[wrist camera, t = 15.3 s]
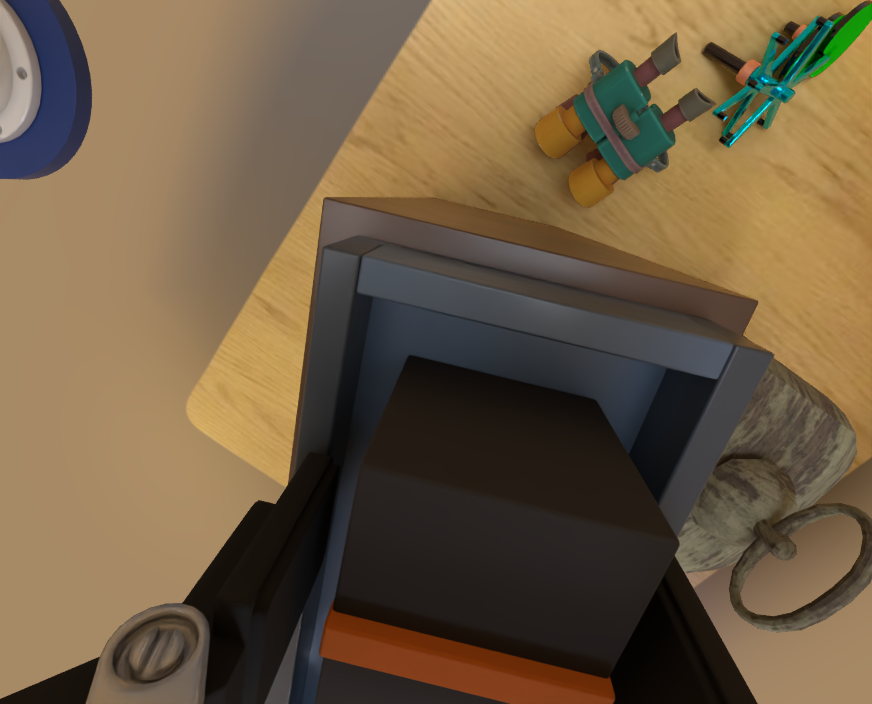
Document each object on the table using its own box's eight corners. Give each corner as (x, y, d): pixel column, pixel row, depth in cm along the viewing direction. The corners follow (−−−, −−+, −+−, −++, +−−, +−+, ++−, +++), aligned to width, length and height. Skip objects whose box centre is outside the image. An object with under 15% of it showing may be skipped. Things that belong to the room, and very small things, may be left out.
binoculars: (560, 88, 35) (513, 118, 29) (674, -15, 29) (645, -6, 22) (621, 185, 37) (590, 232, 31) (742, 110, 31) (733, 151, 24)
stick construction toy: (718, 174, 32) (770, 80, 25) (649, 123, 35) (678, 25, 28) (846, 81, 33) (934, -38, 25) (768, 38, 35) (827, -81, 28)
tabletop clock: (648, 282, 38) (930, 421, 14) (727, 339, 39) (1111, 557, 15) (543, 404, 42) (625, 660, 19) (616, 452, 43) (779, 751, 20)
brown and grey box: (389, 403, 44) (224, 791, 15) (432, 197, 37) (277, 196, 8) (496, 428, 44) (532, 869, 15) (558, 227, 37) (844, 332, 8)
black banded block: (363, 557, 14) (298, 762, 9) (406, 353, 11) (350, 476, 6) (521, 596, 14) (547, 825, 9) (599, 399, 11) (696, 560, 6)
